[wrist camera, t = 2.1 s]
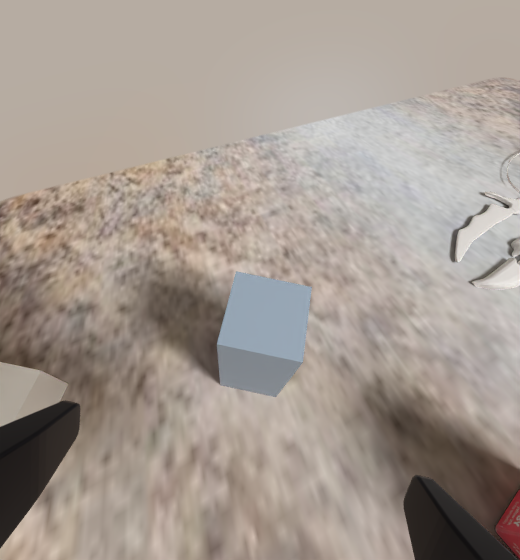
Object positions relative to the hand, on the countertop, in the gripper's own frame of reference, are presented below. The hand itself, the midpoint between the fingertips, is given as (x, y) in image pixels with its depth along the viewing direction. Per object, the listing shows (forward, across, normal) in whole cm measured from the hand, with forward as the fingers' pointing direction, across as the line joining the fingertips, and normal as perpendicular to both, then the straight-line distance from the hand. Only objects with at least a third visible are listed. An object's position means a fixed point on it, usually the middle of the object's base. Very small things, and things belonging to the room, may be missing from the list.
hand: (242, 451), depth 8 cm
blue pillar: (+14, 0, +5) cm, 15 cm away
